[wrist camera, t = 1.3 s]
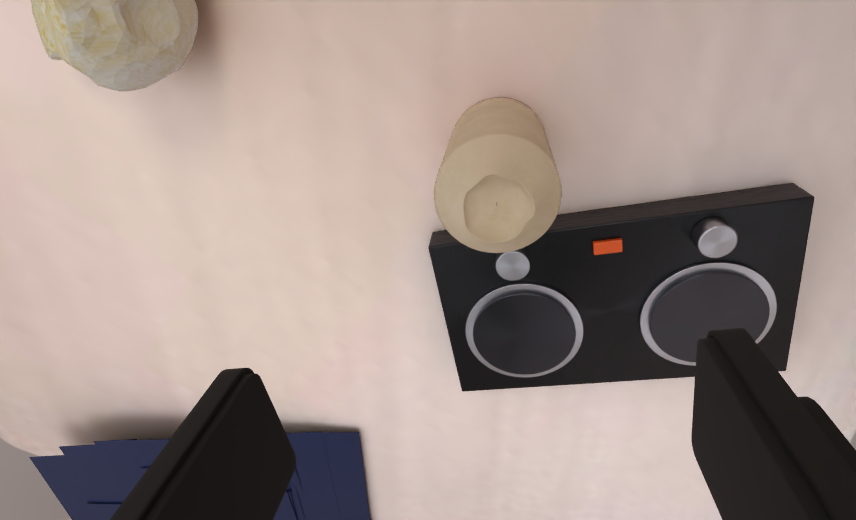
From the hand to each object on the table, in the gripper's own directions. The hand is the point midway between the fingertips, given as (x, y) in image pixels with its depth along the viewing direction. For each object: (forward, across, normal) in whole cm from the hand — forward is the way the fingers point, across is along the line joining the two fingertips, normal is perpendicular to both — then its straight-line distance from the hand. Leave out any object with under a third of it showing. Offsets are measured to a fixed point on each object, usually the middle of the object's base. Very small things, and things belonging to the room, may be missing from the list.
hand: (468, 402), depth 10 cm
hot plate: (+21, -6, +11) cm, 24 cm away
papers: (+22, +31, +32) cm, 49 cm away
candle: (+21, -1, 0) cm, 21 cm away
